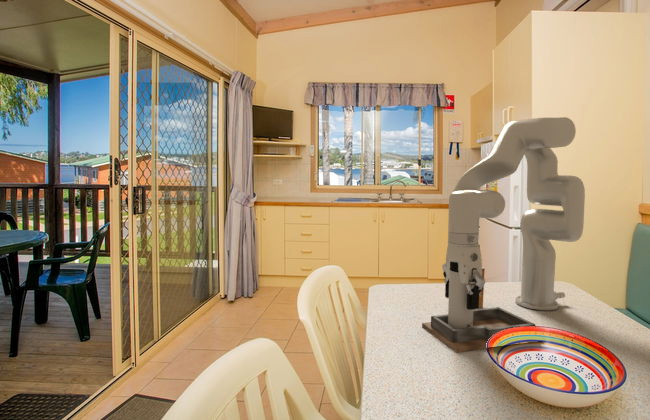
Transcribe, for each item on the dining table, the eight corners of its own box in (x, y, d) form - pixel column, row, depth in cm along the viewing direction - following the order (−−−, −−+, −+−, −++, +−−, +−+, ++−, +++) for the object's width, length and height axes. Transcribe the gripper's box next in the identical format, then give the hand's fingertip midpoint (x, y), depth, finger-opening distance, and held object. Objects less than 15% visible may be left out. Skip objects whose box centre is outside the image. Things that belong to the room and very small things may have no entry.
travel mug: (475, 337, 102) (478, 261, 100) (448, 335, 103) (451, 259, 101) (471, 328, 108) (474, 256, 106) (446, 326, 109) (448, 255, 107)
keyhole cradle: (497, 318, 118) (498, 305, 118) (542, 341, 102) (543, 326, 102) (422, 326, 112) (422, 312, 112) (456, 352, 96) (457, 336, 95)
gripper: (497, 243, 96) (495, 312, 97) (456, 233, 112) (454, 292, 114) (470, 245, 94) (468, 315, 95) (432, 234, 110) (431, 294, 112)
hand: (461, 302), depth 105 cm, fingers open, 9 cm apart
